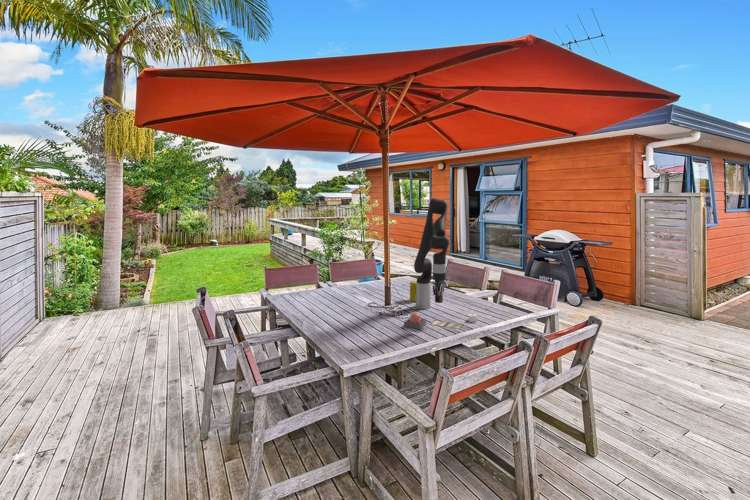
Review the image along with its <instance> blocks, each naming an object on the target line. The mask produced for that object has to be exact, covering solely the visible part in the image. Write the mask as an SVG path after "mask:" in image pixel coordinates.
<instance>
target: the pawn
mask: <svg viewBox="0 0 750 500" xmlns="http://www.w3.org/2000/svg"><path fill="white" fill-rule="evenodd" d="M436 293H437V292H436ZM443 296H444V292H443V293H442V291H440V294H439V302H435V304H436V303H437V304H441V303H442V304H443V302H444V297H443Z"/></svg>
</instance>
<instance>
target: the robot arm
mask: <svg viewBox="0 0 750 500" xmlns="http://www.w3.org/2000/svg"><path fill="white" fill-rule="evenodd" d="M448 207H449V206H448V202H447V200H445V199H439V198H434V197H433V198H431V199H430V200H429V204H428V209H427V215H426V220H425V224H424V228H423V232H422V235H421V240H420V244H419V249H418V252H417V254H416V256H415V259H414V260H415V261H414V263H413V269H414V272H416V273H417V274H421V275H420V276H418V277H417V278H416V281H417V293H416V301H415V308H417V309H418V310H419V309H420V310H428V309H431V280H433V281H435V282H434V285H432V293H433V296H434V303H436V302H439V294H440V291H442V293H443V294H444V292H445V287H446V280H447V266H446V264H447V263H446V262H447V261H446V260H447V259H446V258H447V251H448V249H449V246H450V239H449V237H448V236H446V222H447V214H448ZM433 214H434V215H440V216H439V217H438V218H436V220H435V221H434V218H433ZM432 249H433V250H441V251H440V252H435V253H433V255H432V261H433V262H432V261H431V259H429V258H427V255H428V253H430V251H431V250H432ZM436 292H437V293H436Z"/></svg>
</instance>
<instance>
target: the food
mask: <svg viewBox="0 0 750 500" xmlns="http://www.w3.org/2000/svg"><path fill="white" fill-rule="evenodd" d="M416 293H417V280H411V281H410V283H409V301H410V302H415V303H416Z"/></svg>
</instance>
